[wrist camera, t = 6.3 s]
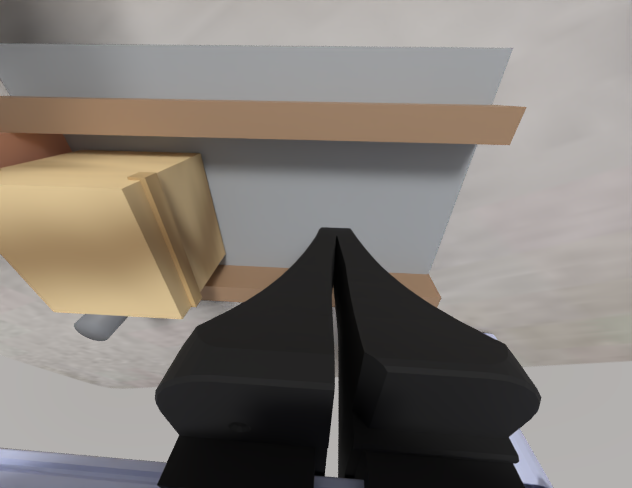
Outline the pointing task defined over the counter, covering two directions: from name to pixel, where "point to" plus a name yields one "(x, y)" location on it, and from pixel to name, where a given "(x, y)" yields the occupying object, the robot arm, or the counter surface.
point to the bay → (275, 140)
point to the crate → (111, 231)
